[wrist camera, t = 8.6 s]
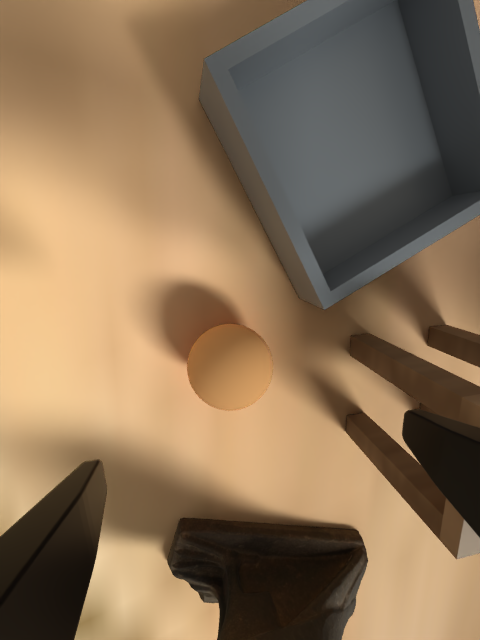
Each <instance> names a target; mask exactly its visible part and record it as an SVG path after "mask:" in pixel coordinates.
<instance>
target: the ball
mask: <svg viewBox="0 0 480 640" xmlns="http://www.w3.org/2000/svg"><path fill="white" fill-rule="evenodd" d="M187 372H188V377H189V381H190V384H191V386H192V388H193V390H194V391H195V393H196V394H197V395H198V397H199V398H200V399H202V400H203V401H204V402H205V403H207V404H208V405H210V406H212V407H214V408H217V409H221V410H239V409H243V408H245V407H248V406H250V405H252V404H253V403H255V402H256V401H257V400H258V399H259V398H261V396H262V395H263V394H264V393H265V391H266V390H267V388H268V386H269V384H270V381H271V378H272V372H273V361H272V356H271V353H270V350H269V348H268V346H267V344H266V343H265V341H264V340H263V339H262V338H261V337H260V336H259V335H258V334H257V333H256V332H255V331H253V330H251V329H250V328H247V327H245V326H242V325H238V324H223V325H219V326H216V327H213V328H211V329H209V330H207V331H206V332H205V333H203V334H202V335H201V336H200V337H199V338H198V339H197V340H196V342H195V343H194V345H193V347H192V349H191V351H190V354H189V357H188V363H187Z"/></svg>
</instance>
